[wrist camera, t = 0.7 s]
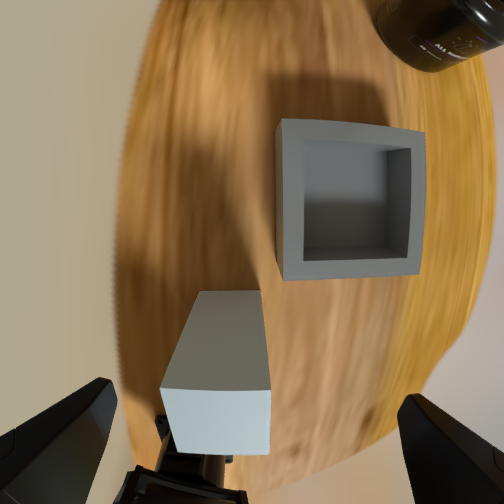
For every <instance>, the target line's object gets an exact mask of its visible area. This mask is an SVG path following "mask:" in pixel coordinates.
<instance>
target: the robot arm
mask: <svg viewBox="0 0 504 504" xmlns="http://www.w3.org/2000/svg"><path fill="white" fill-rule="evenodd" d="M116 407H117V396H116V392H115V389H114V386H113V383H112V381H111V380H109V379H105V378H102V377H98V378H96V379H95V380H93V381H92V382H90V383H88V384H87V385H85V386H84V387H82V388H80V389H79V390H77V391H76V392H74V393H72V394H71V395H69V396H67V397H66V398H64V399H62V400H61V401H59V402H57V403H56V404H54V405H53V406H51V407H49V408H48V409H46V410H45V411H43V412H41V413H39V414H38V415H36V416H34V417H33V418H31V419H29V420H28V421H26V422H24V423H23V424H21V425H19V426H18V427H16V429H13V430H11V431H9V432H7V433H6V434H4V435H2V436H0V504H85V503H86V500H87V497H88V494H89V491H90V488H91V486H92V482H93V480H94V477H95V474H96V472H97V469H98V466H99V463H100V461H101V458H102V455H103V453H104V450H105V447H106V444H107V441H108V437H109V433H110V429H111V425H112V421H113V418H114V414H115V410H116ZM397 420H398V426H399V431H400V437H401V444H402V450H403V455H404V460H405V464H406V468H407V471H408V476H409V480H410V484H411V488H412V492H413V496H414V501H415V504H504V453H503V452H502V451H500V450H499V449H497V448H496V447H494V446H492V445H491V444H490V443H488V442H487V441H486V440H484V439H482V438H481V437H480V436H479V435H477V434H476V433H474V432H473V431H471V430H470V429H469V428H467V427H466V426H464V425H463V424H461V423H460V422H459V421H457V420H455V419H454V418H453V417H451V416H450V415H449V414H447V413H446V412H444V411H443V410H442V409H440V408H439V407H438V406H436V405H435V404H433V403H432V402H430V401H429V400H428V399H426V398H425V397H424V396H422V395H421V394H419V393H415V394H409V395H407V396H406V398H405V399H404V401H403V403H402V405H401V407H400V409H399V410H398V413H397ZM155 424H156V427H157V430H158V433H159V436H160V439H161V441H162V446H161V449H160V453H159V456H158V460H157V463H156V467H155V470H154V471H152V470H149V469H146V468H143V466H140V465H136V468H135V470H134V471H130V472H127V475H126V477H125V480H124V483H123V485H122V487H121V489H120V491H119V493H118V495H117V496H116V498H115V500H114V502H113V504H249V503H248V498H247V493H246V491H243V490H239V491H237V490H230V489H225V488H223V487H224V473H225V463H232V461H233V455H213V454H196V453H184V452H178V451H177V448H176V445H175V441H174V438H173V435H172V432H171V428H170V425H169V421H168V418H167V416H161V415H158V416H156V418H155Z"/></svg>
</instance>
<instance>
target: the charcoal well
mask: <svg viewBox="0 0 504 504" xmlns="http://www.w3.org/2000/svg"><path fill="white" fill-rule="evenodd" d="M274 133H275V183H276V262H277V264H278V267H279V270H280V273H281V276H282V279H283V281H294V280H322V279H345V278H366V277H384V276H401V275H417V274H419V272H420V264H421V256H422V246H423V235H424V221H425V201H426V151H425V133H424V132H418V131H412V130H406V129H400V128H394V127H387V126H379V125H371V124H363V123H353V122H342V121H329V120H313V119H285V118H282V119H281V121H280V122H279V124H278V126H277V128H276V130H275V132H274Z"/></svg>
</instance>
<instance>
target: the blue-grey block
mask: <svg viewBox="0 0 504 504" xmlns="http://www.w3.org/2000/svg"><path fill="white" fill-rule="evenodd" d="M160 392H161V396H162V400H163V403H164V407H165V411H166V414H167V418H168V421H169V425H170V428H171V432H172V435H173V438H174V441H175V445H176V448H177V451H178V452H184V453H196V454H213V455H268V454H269V449H270V417H271V384H270V374H269V365H268V355H267V346H266V336H265V327H264V318H263V308H262V299H261V290H235V291H199V293H198V296H197V298H196V300H195V303H194V305H193V307H192V310H191V312H190V314H189V317H188V319H187V322H186V324H185V326H184V329H183V331H182V334H181V336H180V338H179V341H178V343H177V346H176V348H175V350H174V353H173V355H172V358H171V360H170V363H169V365H168V368H167V370H166V373H165V375H164V378H163V380H162V383H161V385H160Z"/></svg>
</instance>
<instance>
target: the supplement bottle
mask: <svg viewBox="0 0 504 504" xmlns="http://www.w3.org/2000/svg"><path fill="white" fill-rule="evenodd" d="M376 21H377V27H378V30H379V32H380V35H381V37H382V39H383V40H384V42H385V43H386V45H387V46H388V47H389V49H390V50H391V51H392V52H393V53H394V54H395V55H396V56H397V57H398V58H399V59H401V60H402V61H403V62H405V63H406V64H408V65H409V66H411V67H413V68H415V69H417V70H420V71H424V72H430V73H433V72H439V71H442V70H444V69H447V68H449V67H451V66H454V65H456V64H458V63H460V62H463V61H465V60H467V59H469V58H472V57H474V56H477V55H479V54H481V53H484V52H486V51H489V50H491V49H493V48H496V47H499V46H501V45H504V0H384V1H383V3H382V4H381V5H380V7H379V8H378V11H377V15H376Z"/></svg>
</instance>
